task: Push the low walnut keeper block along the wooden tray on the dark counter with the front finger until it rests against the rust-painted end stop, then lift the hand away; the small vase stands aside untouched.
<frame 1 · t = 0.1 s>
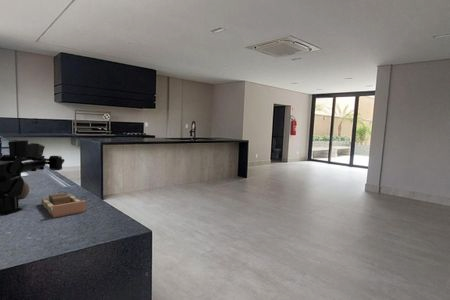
hand: (55, 159, 128), 17 cm above the worktop, tool horizontal, fingers open, 9 cm apart
end stop: (70, 213, 103), on the worktop
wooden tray: (62, 206, 111), on the worktop
keeper: (59, 204, 115), on the worktop
vase: (20, 198, 124), on the worktop
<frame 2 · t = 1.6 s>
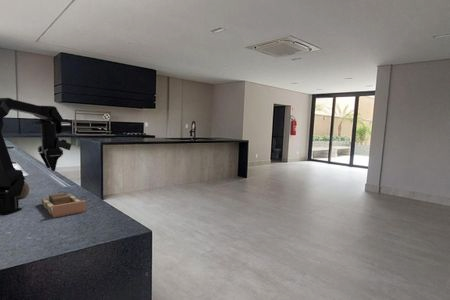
hand: (51, 169, 123), 13 cm above the worktop, tool pointing down, fingers open, 9 cm apart
nothing on the worktop moved.
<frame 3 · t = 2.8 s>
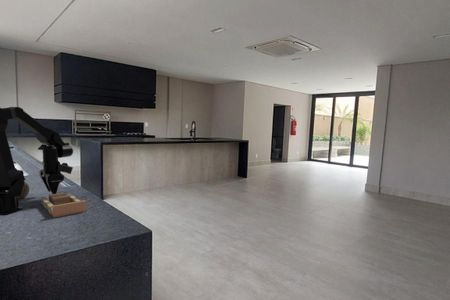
hand: (52, 193, 124), 2 cm above the worktop, tool pointing down, fingers open, 9 cm apart
nothing on the worktop moved.
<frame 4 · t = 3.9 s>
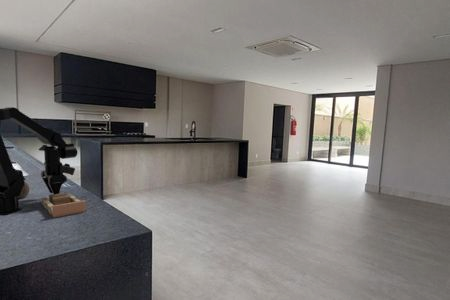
hand: (54, 195, 121), 2 cm above the worktop, tool pointing down, fingers open, 8 cm apart
keeper: (59, 205, 115), on the worktop, touching gripper
everything else where it was.
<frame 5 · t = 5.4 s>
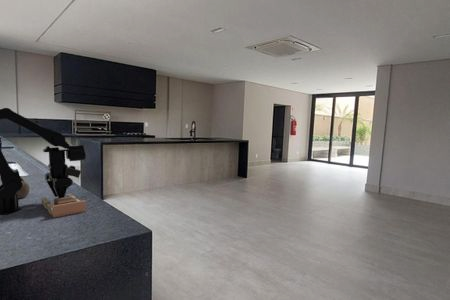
hand: (59, 198, 115), 2 cm above the worktop, tool pointing down, fingers open, 8 cm apart
keeper: (65, 209, 109), on the worktop, touching gripper
everything else where it was.
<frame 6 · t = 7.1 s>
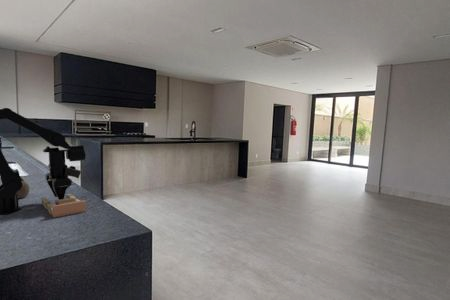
hand: (58, 199, 115), 2 cm above the worktop, tool pointing down, fingers open, 9 cm apart
keeper: (67, 211, 107), on the worktop
everything else where it was.
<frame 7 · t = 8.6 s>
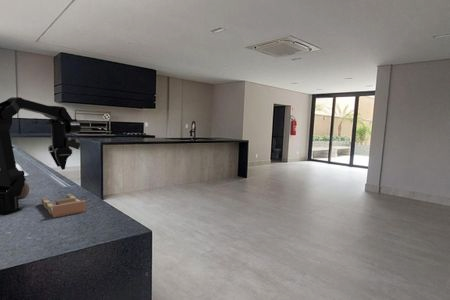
hand: (61, 168, 126), 13 cm above the worktop, tool pointing down, fingers open, 9 cm apart
nothing on the worktop moved.
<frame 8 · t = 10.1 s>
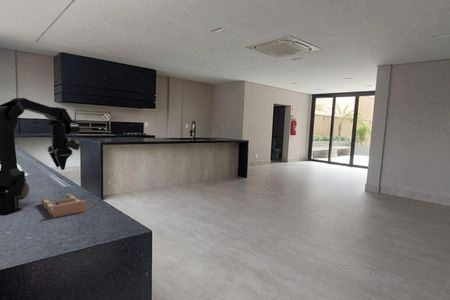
hand: (60, 168, 128), 12 cm above the worktop, tool pointing down, fingers open, 9 cm apart
nothing on the worktop moved.
at the end: keeper 4.8 cm from the end stop (horizontally); keeper moved 11.0 cm from its start; keeper tilted 0° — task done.
